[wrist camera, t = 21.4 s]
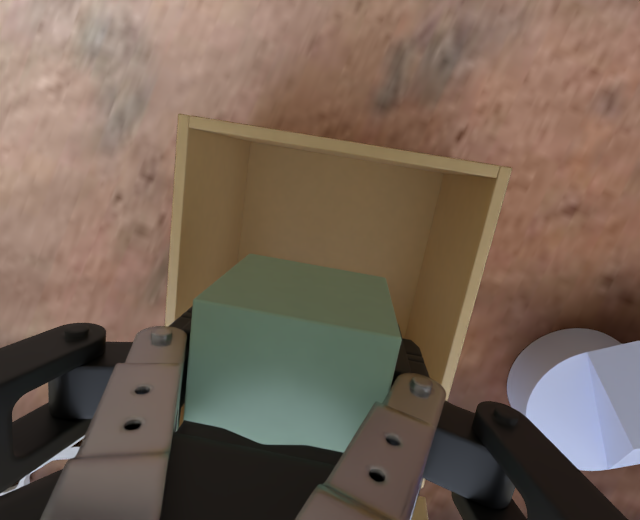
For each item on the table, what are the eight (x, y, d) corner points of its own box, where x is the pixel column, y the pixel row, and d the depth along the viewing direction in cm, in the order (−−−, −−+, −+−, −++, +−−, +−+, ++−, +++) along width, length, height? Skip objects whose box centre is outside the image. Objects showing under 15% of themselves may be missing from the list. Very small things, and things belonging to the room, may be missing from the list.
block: (249, 252, 14) (192, 298, 9) (386, 277, 14) (402, 338, 9) (234, 374, 15) (177, 472, 10) (360, 399, 15) (362, 511, 10)
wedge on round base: (690, 299, 26) (495, 345, 28) (800, 343, 20) (537, 398, 22) (703, 412, 28) (519, 447, 30) (808, 486, 22) (564, 525, 24)
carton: (400, 377, 30) (423, 488, 19) (224, 343, 30) (157, 433, 20) (451, 167, 26) (513, 167, 15) (246, 133, 26) (177, 113, 16)
